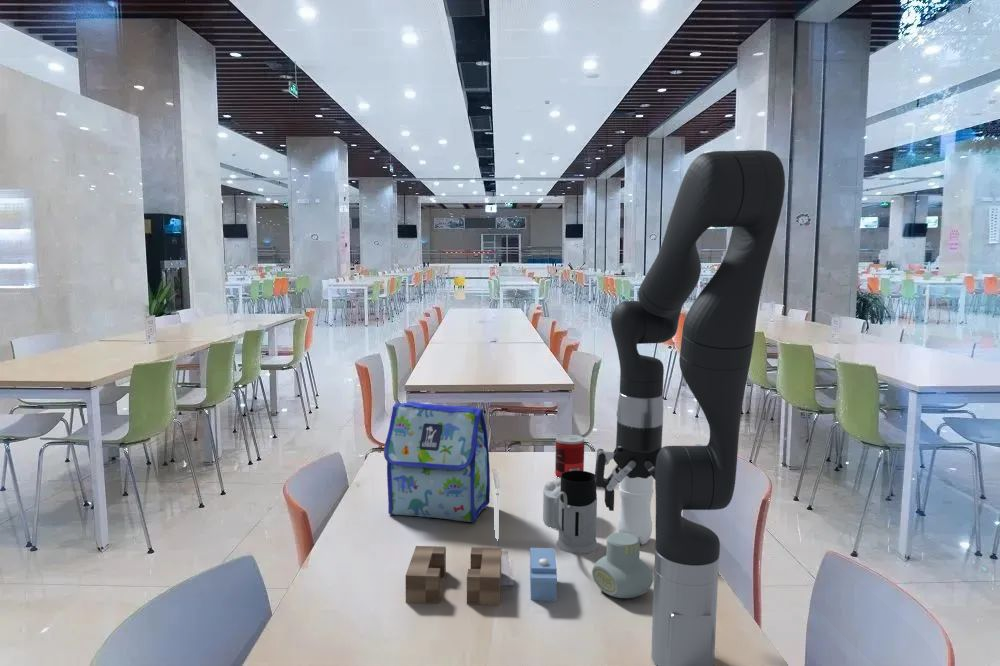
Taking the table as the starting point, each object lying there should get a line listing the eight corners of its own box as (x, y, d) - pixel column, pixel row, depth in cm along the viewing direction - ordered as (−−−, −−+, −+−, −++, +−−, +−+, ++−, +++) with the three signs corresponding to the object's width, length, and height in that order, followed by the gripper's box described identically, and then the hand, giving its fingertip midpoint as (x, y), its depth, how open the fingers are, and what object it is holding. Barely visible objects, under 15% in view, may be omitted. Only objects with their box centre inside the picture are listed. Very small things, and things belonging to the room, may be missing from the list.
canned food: (588, 475, 187) (589, 436, 186) (575, 483, 181) (576, 443, 179) (563, 470, 191) (564, 432, 190) (550, 478, 185) (551, 439, 183)
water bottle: (651, 549, 141) (656, 432, 138) (617, 545, 142) (620, 430, 139) (651, 535, 148) (655, 423, 145) (618, 532, 149) (621, 421, 146)
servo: (553, 574, 130) (553, 541, 129) (556, 606, 118) (557, 570, 117) (529, 573, 130) (530, 540, 129) (530, 606, 118) (531, 570, 117)
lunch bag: (381, 520, 155) (379, 409, 152) (407, 495, 171) (406, 394, 168) (473, 530, 149) (474, 415, 146) (492, 503, 165) (493, 399, 162)
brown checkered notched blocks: (499, 604, 118) (499, 577, 117) (405, 602, 118) (405, 575, 118) (501, 572, 130) (501, 547, 129) (416, 570, 130) (416, 545, 130)
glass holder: (605, 542, 144) (606, 474, 142) (573, 567, 132) (575, 494, 130) (568, 532, 149) (570, 466, 147) (535, 556, 137) (536, 485, 135)
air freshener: (659, 598, 121) (661, 545, 119) (623, 610, 117) (625, 555, 115) (620, 573, 130) (621, 523, 129) (585, 583, 126) (586, 532, 125)
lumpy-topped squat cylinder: (543, 528, 151) (544, 491, 150) (542, 507, 164) (542, 472, 163) (590, 529, 151) (591, 492, 150) (585, 507, 163) (586, 473, 162)
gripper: (599, 425, 109) (596, 518, 112) (688, 426, 109) (682, 520, 112) (594, 411, 117) (592, 499, 120) (677, 412, 116) (673, 501, 119)
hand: (635, 509), depth 116 cm, fingers open, 8 cm apart
